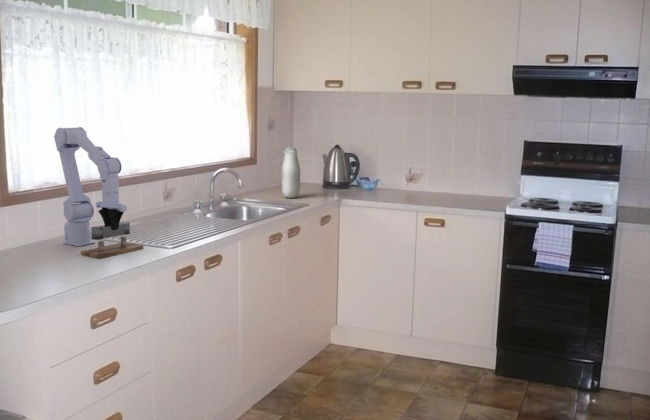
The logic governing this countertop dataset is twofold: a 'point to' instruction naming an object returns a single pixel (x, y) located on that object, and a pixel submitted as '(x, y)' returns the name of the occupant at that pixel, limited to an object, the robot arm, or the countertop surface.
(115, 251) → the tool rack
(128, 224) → the dark grey bar
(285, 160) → the glass bottle
